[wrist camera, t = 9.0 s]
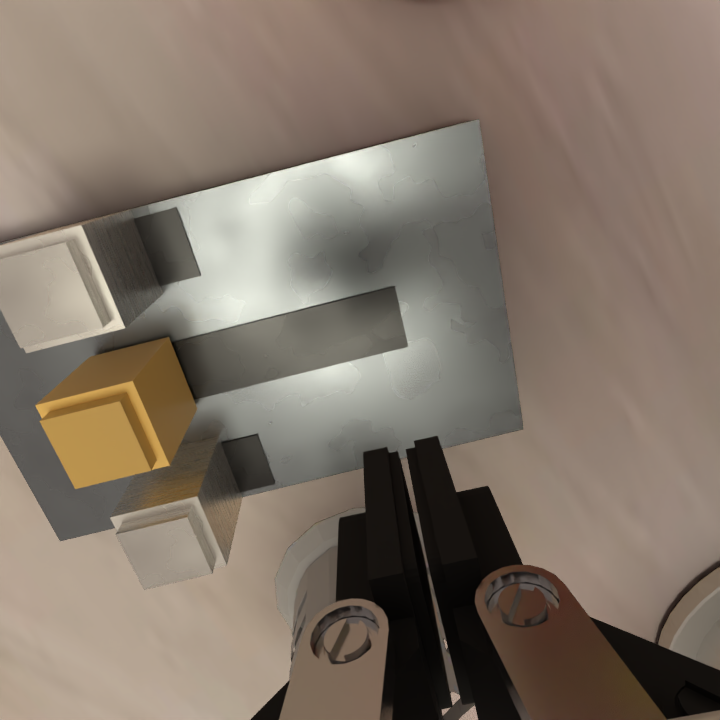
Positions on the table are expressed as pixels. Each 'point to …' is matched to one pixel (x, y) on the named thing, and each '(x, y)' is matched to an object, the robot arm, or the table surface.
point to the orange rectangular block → (119, 413)
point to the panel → (268, 335)
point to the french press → (333, 589)
